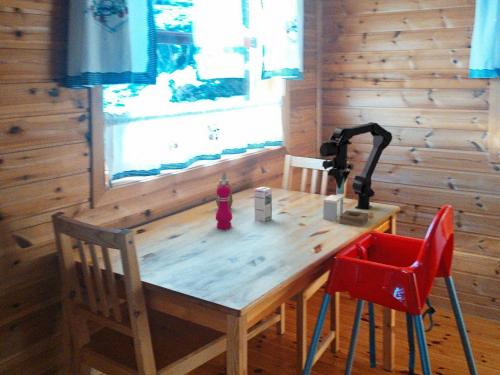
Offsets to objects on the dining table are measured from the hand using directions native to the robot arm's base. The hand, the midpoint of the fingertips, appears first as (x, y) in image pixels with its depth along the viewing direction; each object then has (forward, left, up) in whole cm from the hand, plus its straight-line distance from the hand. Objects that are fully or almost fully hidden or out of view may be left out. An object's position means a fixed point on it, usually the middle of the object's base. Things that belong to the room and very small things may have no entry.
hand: (340, 187), depth 262 cm
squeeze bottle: (+21, -51, -12) cm, 56 cm away
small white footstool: (+10, 0, -12) cm, 16 cm away
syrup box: (+28, -27, -12) cm, 41 cm away
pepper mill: (+46, -37, -12) cm, 60 cm away
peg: (0, 0, -3) cm, 3 cm away
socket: (+14, +11, -12) cm, 22 cm away
